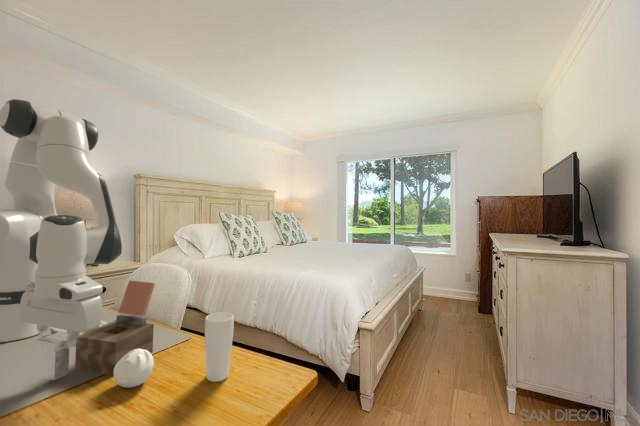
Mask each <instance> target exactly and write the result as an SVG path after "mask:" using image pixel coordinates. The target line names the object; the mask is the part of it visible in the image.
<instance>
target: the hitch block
mask: <svg viewBox="0 0 640 426" xmlns="http://www.w3.org/2000/svg"><path fill="white" fill-rule="evenodd" d="M139 348H140V349H144V350H147V351H149V352H150V353H151V354H152V353H153V351H154V323H150V322H149V323H148V322H147V316H141V315H134V314H126V313H120V314H118V315H116V319H115V320H114V321H111V322H109V323H108V322H107V323H106V324H103V325H100V326H99V327H98V328H96V329H94V330H91V331H89V332H86V333H81V334H79V335H78V343H76V345H75V367H74V368H75V369H79V370H86V371H88V372H89V371H90V372H95V373H101V374H106V375H113V372H114V368H115V366H116V364H117V363H118V362H119V360H120V359H121V358H122V357H123V356H125V355H126V354H127V353H128V352H130V351H132V350H134V349H139ZM113 376H114V375H113Z"/></svg>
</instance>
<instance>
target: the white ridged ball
mask: <svg viewBox="0 0 640 426" xmlns="http://www.w3.org/2000/svg"><path fill="white" fill-rule="evenodd" d="M154 365H155V364H154V355H152V353H150V352H149V351H147V350H144V349H140V348H139V349H134V350H132V351H130V352H128V353H127V354H126V355H125V356H123V357H122V358H121V359H120V360H119V362H118V363H117V364H116V366H115V368H114V372H113V378H114V381H115V382H116V383H115V384H117V385H119V386H120V387H123V388H126V389H127V388H135V387H138V386H140V385H141V384H143V383H145V382H146V381H147V380H148V379H149V377H150V375H151V374H152V372H153V370H154Z"/></svg>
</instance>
